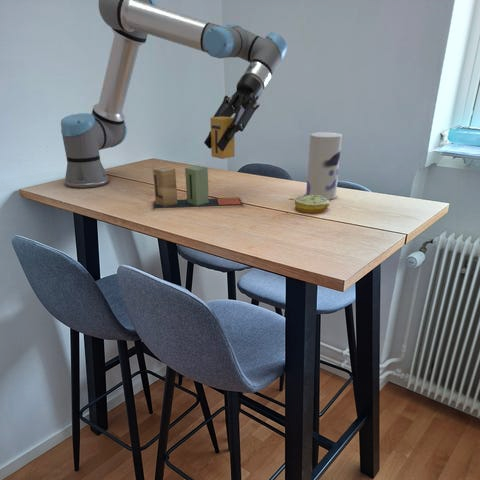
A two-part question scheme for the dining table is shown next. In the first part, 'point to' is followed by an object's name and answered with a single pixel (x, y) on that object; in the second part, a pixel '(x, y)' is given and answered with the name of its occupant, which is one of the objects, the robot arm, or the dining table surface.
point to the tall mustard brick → (217, 131)
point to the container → (323, 164)
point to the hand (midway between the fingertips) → (213, 146)
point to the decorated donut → (311, 203)
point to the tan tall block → (165, 186)
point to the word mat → (211, 203)
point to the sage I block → (197, 185)
